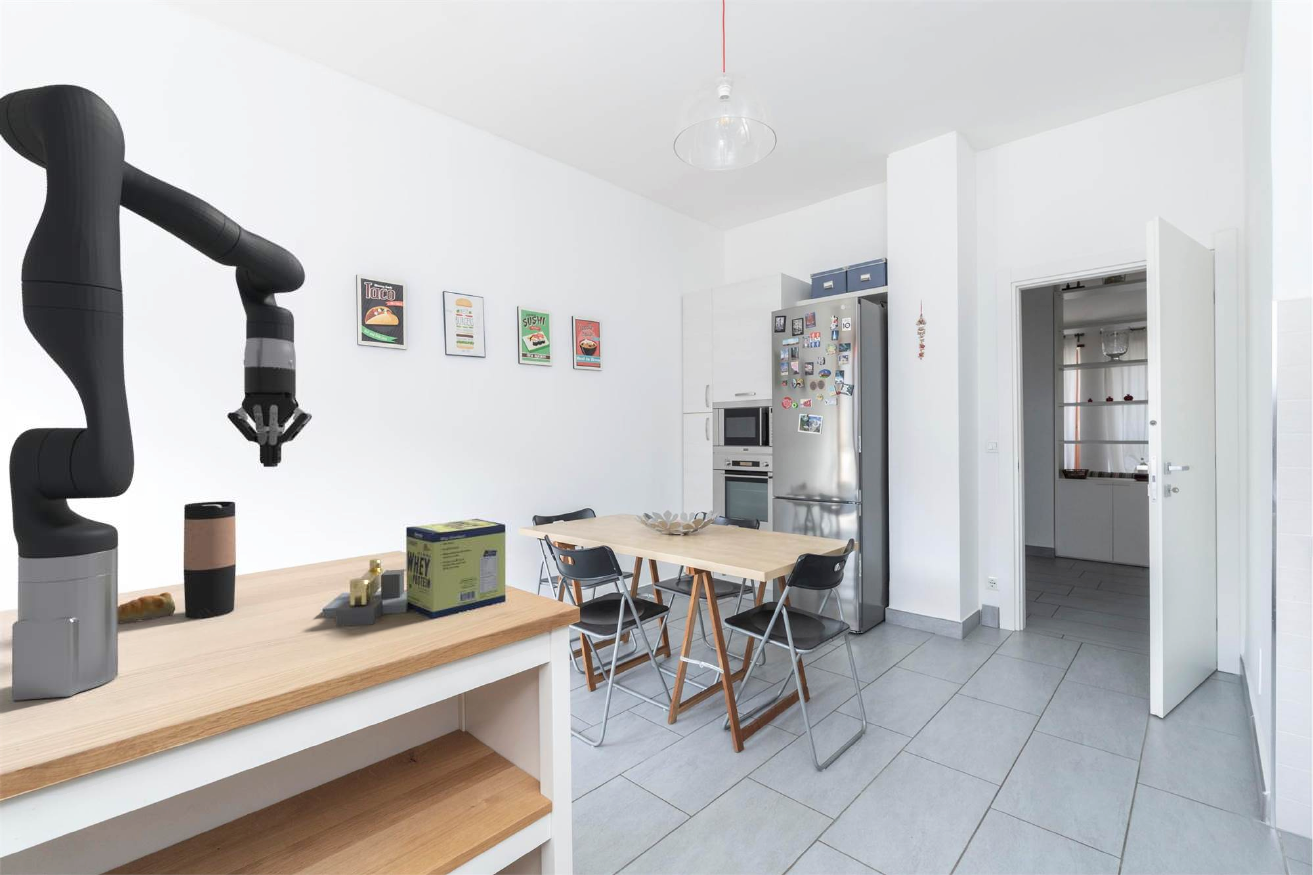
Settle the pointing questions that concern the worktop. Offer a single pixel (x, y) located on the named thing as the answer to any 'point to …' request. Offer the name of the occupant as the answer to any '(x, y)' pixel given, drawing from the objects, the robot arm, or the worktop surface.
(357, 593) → the bar
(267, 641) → the worktop surface
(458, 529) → the protein box
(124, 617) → the pastry
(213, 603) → the travel mug
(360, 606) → the plate
